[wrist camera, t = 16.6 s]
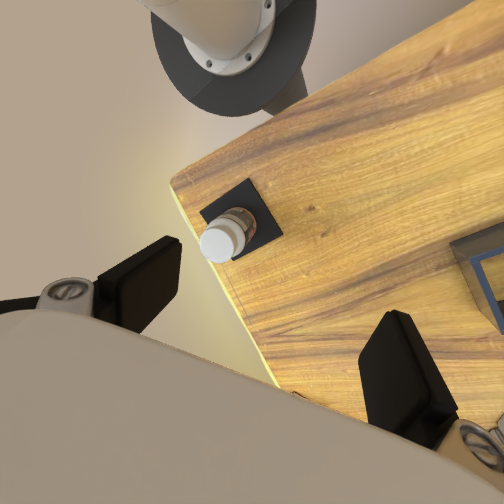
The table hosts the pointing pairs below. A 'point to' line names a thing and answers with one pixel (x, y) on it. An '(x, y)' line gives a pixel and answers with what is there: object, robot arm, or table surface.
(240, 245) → the pill bottle
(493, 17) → the table surface
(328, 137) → the table surface
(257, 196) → the mat
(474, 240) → the caddy
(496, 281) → the table surface
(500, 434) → the strap clip
